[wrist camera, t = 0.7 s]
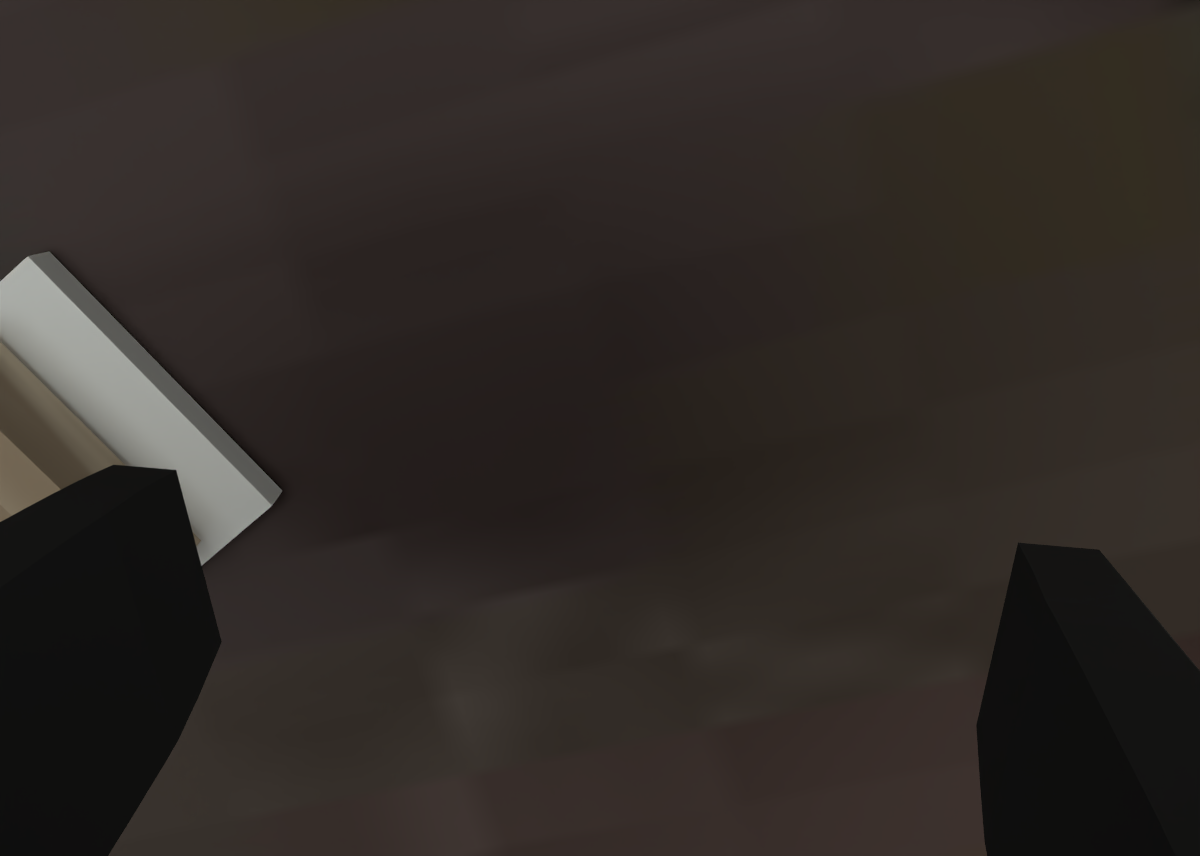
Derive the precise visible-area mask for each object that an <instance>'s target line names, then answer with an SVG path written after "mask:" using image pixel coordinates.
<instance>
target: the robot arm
mask: <svg viewBox="0 0 1200 856" xmlns="http://www.w3.org/2000/svg"><path fill="white" fill-rule="evenodd" d="M220 644H221V638H220V634H219V630H218V627H217V623H216V619H215V615H214V612H213V608H212V604H211V600H210V596H209V593H208V589H207V585H206V581H205V577H204V574H203V570H202V566H201V562H200V558H199V555H198V551H197V547H196V543H195V539H194V536H193V532H192V528H191V524H190V521H189V517H188V513H187V509H186V505H185V502H184V498H183V494H182V490H181V486H180V483H179V479H178V475H177V471H176V470H170V469H159V468H147V467H136V466H124V465H112V466H109V467H107V468H105V469H103V470H100V471H98V472H96V473H94V474H91V475H89V476H87V477H85V478H83V479H81V480H79V481H77V482H75V483H73V484H71V485H69V486H67V487H65V488H63V489H61V490H59V491H57V492H55V493H53V494H51V495H49V496H48V497H46V498H44V499H42V500H40V501H38V502H36V503H34V504H32V505H31V506H29V507H27V508H25V509H23V510H21V511H20V512H18V513H16V514H14V515H12V516H10V517H9V518H7V519H5V520H3V521H1V522H0V856H108V855H109V853H110V851H111V850H112V848H113V847H114V845H115V843H116V842H117V840H118V839H119V837H120V835H121V834H122V832H123V831H124V829H125V827H126V826H127V824H128V823H129V821H130V819H131V818H132V816H133V814H134V813H135V811H136V809H137V808H138V806H139V805H140V803H141V801H142V800H143V798H144V796H145V795H146V793H147V791H148V790H149V788H150V786H151V785H152V783H153V782H154V780H155V778H156V777H157V775H158V773H159V772H160V770H161V768H162V767H163V765H164V763H165V762H166V760H167V758H168V757H169V755H170V753H171V751H172V750H173V748H174V746H175V745H176V743H177V741H178V739H179V737H180V735H181V733H182V731H183V729H184V726H185V724H186V722H187V720H188V718H189V716H190V714H191V711H192V709H193V707H194V705H195V703H196V701H197V699H198V696H199V694H200V692H201V689H202V687H203V685H204V682H205V680H206V677H207V675H208V673H209V670H210V668H211V666H212V663H213V661H214V658H215V656H216V654H217V651H218V649H219V647H220ZM977 740H978V756H979V772H980V788H981V800H982V813H983V825H984V838H985V845H986V851H987V856H1200V671H1199V669H1198V668H1197V667H1196V666H1195V665H1194V663H1193V662H1192V661H1191V660H1190V659H1189V657H1188V656H1187V655H1186V654H1185V653H1184V651H1183V650H1182V649H1181V648H1180V647H1179V645H1178V644H1177V643H1176V642H1175V641H1174V640H1173V638H1172V637H1171V636H1170V635H1169V633H1168V632H1167V631H1166V630H1165V629H1164V627H1163V626H1162V625H1161V624H1160V623H1159V621H1158V620H1157V619H1156V618H1155V616H1154V615H1153V614H1152V613H1151V612H1150V610H1149V609H1148V608H1147V607H1146V606H1145V604H1144V603H1143V602H1142V601H1141V599H1140V598H1139V597H1138V596H1137V595H1136V593H1135V592H1134V591H1133V590H1132V589H1131V587H1130V586H1129V585H1128V584H1127V583H1126V581H1125V580H1124V579H1123V578H1122V577H1121V575H1120V574H1119V573H1118V572H1117V571H1116V569H1115V568H1114V567H1113V566H1112V565H1111V563H1110V562H1109V561H1108V560H1107V559H1106V558H1105V556H1104V555H1103V554H1102V553H1101V552H1100V550H1095V549H1083V548H1072V547H1060V546H1049V545H1037V544H1026V543H1018V546H1017V550H1016V555H1015V559H1014V563H1013V568H1012V572H1011V576H1010V581H1009V585H1008V590H1007V594H1006V598H1005V603H1004V607H1003V612H1002V616H1001V620H1000V625H999V629H998V633H997V638H996V642H995V647H994V651H993V655H992V660H991V664H990V668H989V673H988V677H987V682H986V686H985V690H984V695H983V699H982V704H981V708H980V712H979V717H978V721H977Z"/></svg>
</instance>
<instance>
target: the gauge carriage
mask: <svg viewBox="0 0 1200 856" xmlns="http://www.w3.org/2000/svg"><path fill="white" fill-rule="evenodd" d="M112 465H124V466H126V465H125V464H124V463H123V462H121V461H120V460H119V459H118V458H117V457H116V456H115V455H114V454H113V453H112V452H111V451H110V450H109V449H108V448H107V447H106V446H105V445H104V444H103V443H102V442H101V441H100V440H99V439H98V438H97V437H96V436H95V435H94V434H93V433H92V432H91V431H90V430H89V429H88V428H87V427H86V426H85V425H84V424H83V423H82V422H81V421H80V420H79V419H78V418H77V417H76V416H75V415H74V414H73V413H72V412H71V411H70V410H69V409H68V408H67V407H66V406H65V405H64V404H63V403H62V402H61V401H60V400H59V399H58V398H57V397H56V396H55V395H54V394H53V393H52V392H51V391H50V390H49V389H48V388H47V387H46V386H45V385H44V384H43V383H42V382H41V381H40V380H39V379H38V378H37V377H36V376H35V375H34V374H33V373H32V372H31V371H30V370H29V369H28V368H27V367H26V366H25V365H24V364H22V363H21V362H20V361H19V360H18V359H17V358H16V357H15V356H14V355H13V354H12V353H11V352H10V351H9V350H8V349H7V348H6V347H5V346H4V345H3V344H2V343H1V342H0V522H1V521H3V520H5V519H7V518H9V517H10V516H12V515H14V514H16V513H18V512H20V511H21V510H23V509H25V508H27V507H29V506H31V505H32V504H34V503H36V502H38V501H40V500H42V499H44V498H46V497H48V496H49V495H51V494H53V493H55V492H57V491H59V490H61V489H63V488H65V487H67V486H69V485H71V484H73V483H75V482H77V481H79V480H81V479H83V478H85V477H87V476H89V475H91V474H94V473H96V472H98V471H100V470H103V469H105V468H107V467H109V466H112ZM193 536H194V539H195V543H196V546H197V545H198V544H199V543H200V542H201V540H200V539H199V538H198V537H197V536H196V535H195V534H194V533H193Z"/></svg>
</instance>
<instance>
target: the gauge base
mask: <svg viewBox="0 0 1200 856" xmlns="http://www.w3.org/2000/svg"><path fill="white" fill-rule="evenodd" d="M0 342H1V343H2V344H3V345H4V346H5V347H6V348H7V349H8V350H9V351H10V352H11V353H12V354H13V355H14V356H15V357H16V358H17V359H18V360H19V361H20V362H21V363H22V364H24V365H25V366H26V367H27V368H28V369H29V370H30V371H31V372H32V373H33V374H34V375H35V376H36V377H37V378H38V379H39V380H40V381H41V382H42V383H43V384H44V385H45V386H46V387H47V388H48V389H49V390H50V391H51V392H52V393H53V394H54V395H55V396H56V397H57V398H58V399H59V400H60V401H61V402H62V403H63V404H64V405H65V406H66V407H67V408H68V409H69V410H70V411H71V412H72V413H73V414H74V415H75V416H76V417H77V418H78V419H79V420H80V421H81V422H82V423H83V424H84V425H85V426H86V427H87V428H88V429H89V430H90V431H91V432H92V433H93V434H94V435H95V436H96V437H97V438H98V439H99V440H100V441H101V442H102V443H103V444H104V445H105V446H106V447H107V448H108V449H109V450H110V451H111V452H112V453H113V454H114V455H115V456H116V457H117V458H118V459H119V460H120V461H121V462H123V463H124V464H125V465H126V466H136V467H147V468H159V469H170V470H176V471H177V475H178V479H179V483H180V486H181V490H182V494H183V498H184V502H185V505H186V509H187V513H188V517H189V521H190V524H191V528H192V532H193V533H194V534H195V535H196V536H197V537H198V538H199V539H200V540H201V542H200V543H199V544H198V545H197V546H196V547H197V551H198V555H199V558H200V562H201V566H202V565H203V564H204V563H205V562H207V561H208V560H209V559H210V558H211V557H212V556H214V555H215V554H216V553H217V552H218V551H219V550H221V549H222V548H223V547H224V546H225V545H227V544H228V543H229V542H230V541H231V540H232V539H234V538H235V537H236V536H237V535H238V534H239V533H241V532H242V531H243V530H244V529H245V528H246V527H248V526H249V525H250V524H251V523H252V522H254V521H255V520H256V519H257V518H258V517H259V516H261V515H262V514H263V513H264V512H265V511H266V510H268V509H269V508H270V507H271V506H272V505H273V504H274V502H275V501H276V500H277V498H278V497H279V495H280V494H281V493H282V490H281V489H280V488H279V487H278V486H277V485H276V483H275V482H274V481H273V480H272V479H271V478H270V477H269V476H268V475H267V474H266V473H265V472H264V471H263V470H262V469H261V468H260V467H259V466H258V465H257V464H256V463H255V462H254V461H253V460H252V459H251V458H250V457H249V456H248V455H247V454H246V453H245V452H244V451H243V450H242V449H241V448H240V447H239V445H238V444H237V443H236V442H235V441H234V440H233V439H232V438H231V437H230V436H229V435H228V434H227V433H226V432H225V431H224V430H223V429H222V428H221V427H220V426H219V425H218V424H217V423H216V422H215V421H214V420H213V419H212V418H211V417H210V416H209V415H208V414H207V413H206V412H205V411H204V410H203V409H202V408H201V406H200V405H199V404H198V403H197V402H196V401H195V400H194V399H193V398H192V397H191V396H190V395H189V394H188V393H187V392H186V391H185V390H184V389H183V388H182V387H181V386H180V385H179V384H178V383H177V382H176V381H175V380H174V379H173V378H172V377H171V376H170V375H169V374H168V373H167V372H166V371H165V370H164V368H163V367H162V366H161V365H160V364H159V363H158V362H157V361H156V360H155V359H154V358H153V357H152V356H151V355H150V354H149V353H148V352H147V351H146V350H145V349H144V348H143V347H142V346H141V345H140V344H139V343H138V342H137V341H136V340H135V339H134V338H133V337H132V336H131V335H130V334H129V333H128V332H127V330H126V329H125V328H124V327H123V326H122V325H121V324H120V323H119V322H118V321H117V320H116V319H115V318H114V317H113V316H112V315H111V314H110V313H109V312H108V311H107V310H106V309H105V308H104V307H103V306H102V305H101V304H100V303H99V302H98V301H97V300H96V299H95V298H94V297H93V296H92V295H91V294H90V292H89V291H88V290H87V289H86V288H85V287H84V286H83V285H82V284H81V283H80V282H79V281H78V280H77V279H76V278H75V277H74V276H73V275H72V274H71V273H70V272H69V271H68V270H67V269H66V268H65V267H64V266H63V265H62V264H61V263H60V262H59V261H58V260H57V259H56V258H55V257H54V256H53V254H52V253H51V252H50V251H48V252H44V253H40V254H36V255H31V256H28V257H27V258H25V259H24V260H23V261H22V262H21V263H20V264H19V265H18V266H17V267H16V268H15V269H13V270H12V271H11V272H10V273H9V274H8V275H7V276H6V277H5V278H4V279H3V280H1V281H0Z"/></svg>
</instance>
